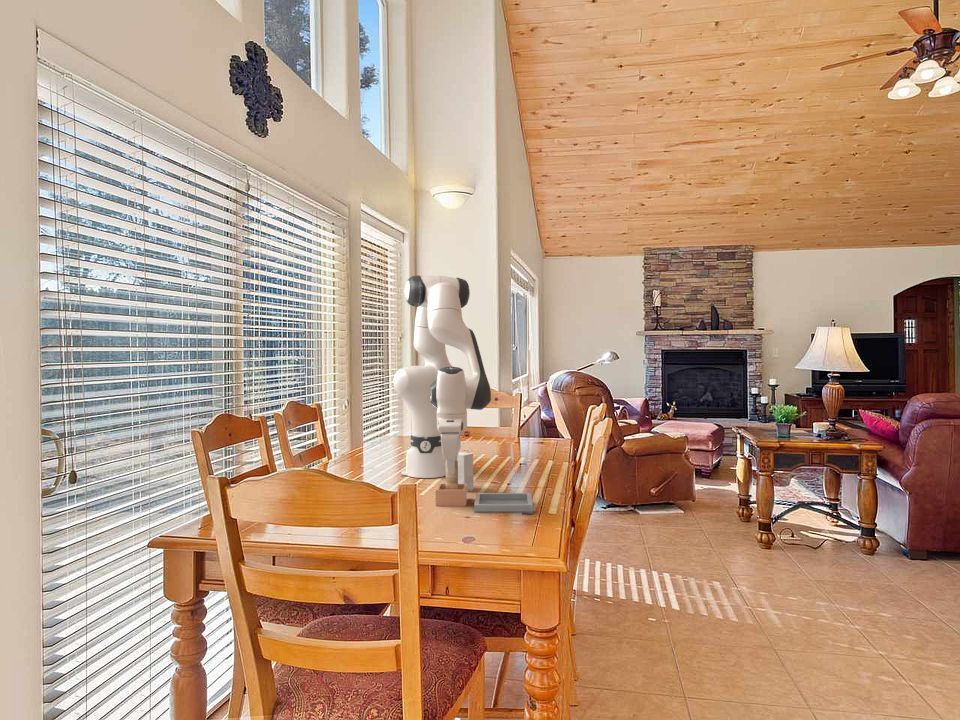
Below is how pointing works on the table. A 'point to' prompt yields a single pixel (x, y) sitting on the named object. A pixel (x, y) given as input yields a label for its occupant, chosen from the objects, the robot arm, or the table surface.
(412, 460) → the robot arm
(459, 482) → the skincare box
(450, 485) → the translucent grey tall block
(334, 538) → the table surface
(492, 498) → the slate tray
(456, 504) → the terracotta open box
